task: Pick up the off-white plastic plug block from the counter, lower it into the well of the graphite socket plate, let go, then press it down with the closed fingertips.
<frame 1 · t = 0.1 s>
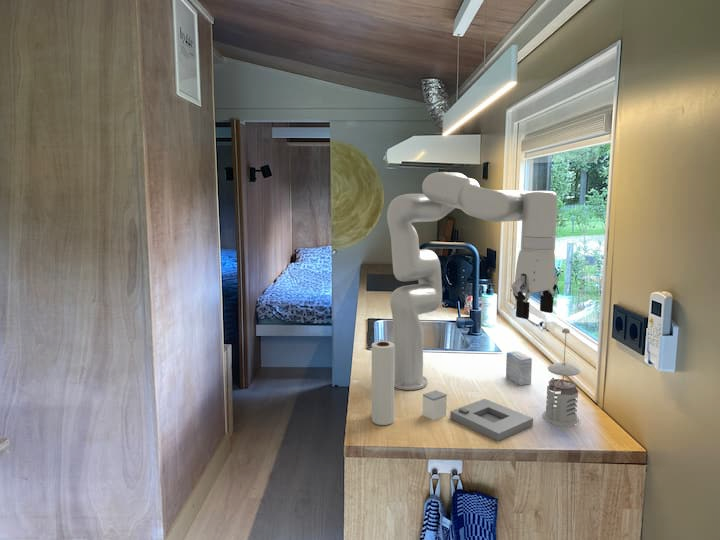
hand: (534, 314, 121), 31 cm above the counter, tool pointing down, fingers open, 9 cm apart
plug: (434, 415, 138), on the counter
socket plate: (490, 421, 134), on the counter
medicine box: (518, 381, 164), on the counter
paper towel roll: (383, 420, 135), on the counter
french press: (559, 419, 136), on the counter
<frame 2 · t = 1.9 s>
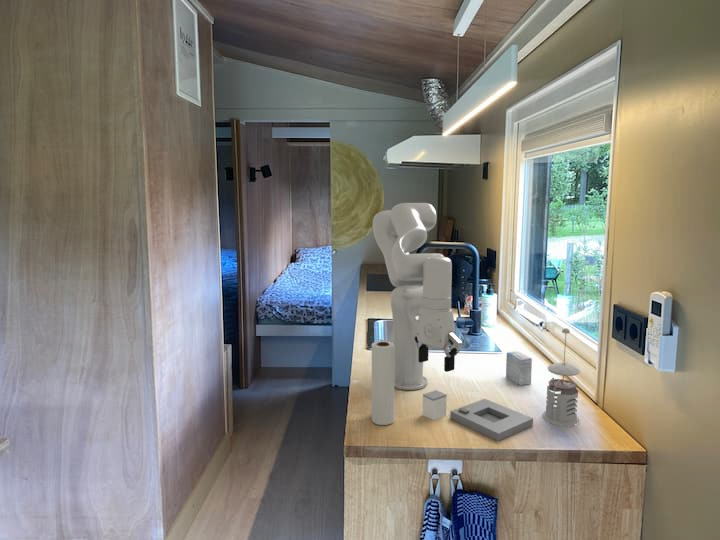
hand: (436, 365, 136), 14 cm above the counter, tool pointing down, fingers open, 9 cm apart
nothing on the counter moved.
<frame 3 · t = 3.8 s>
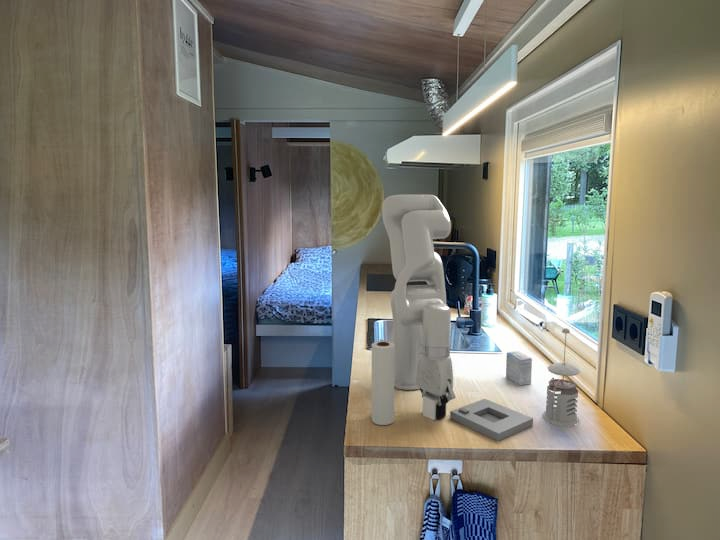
hand: (434, 414, 138), 0 cm above the counter, tool pointing down, fingers closed on plug, 4 cm apart
plug: (434, 415, 138), on the counter, touching gripper
everything else where it was.
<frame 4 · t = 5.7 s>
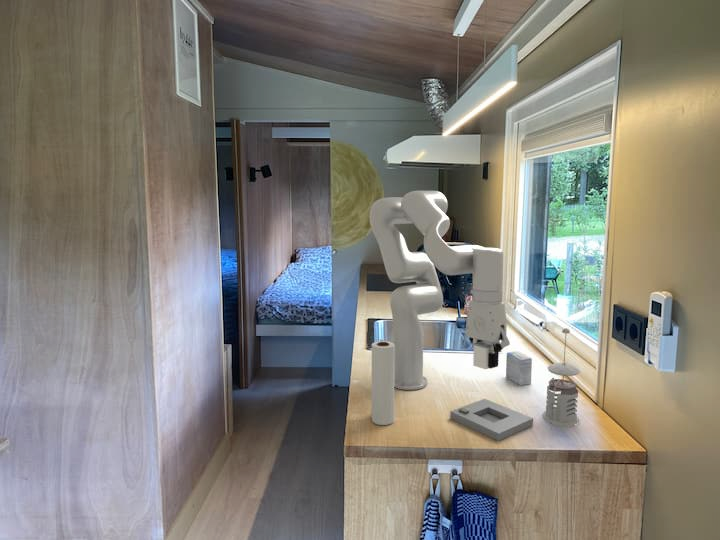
hand: (486, 364, 132), 16 cm above the counter, tool pointing down, fingers closed on plug, 4 cm apart
plug: (485, 365, 132), point 16 cm above the counter, touching gripper
everything else where it was.
when the fingers open (2 cm above the counter, at t = 7.9 s): plug drops 1 cm, resting on socket plate.
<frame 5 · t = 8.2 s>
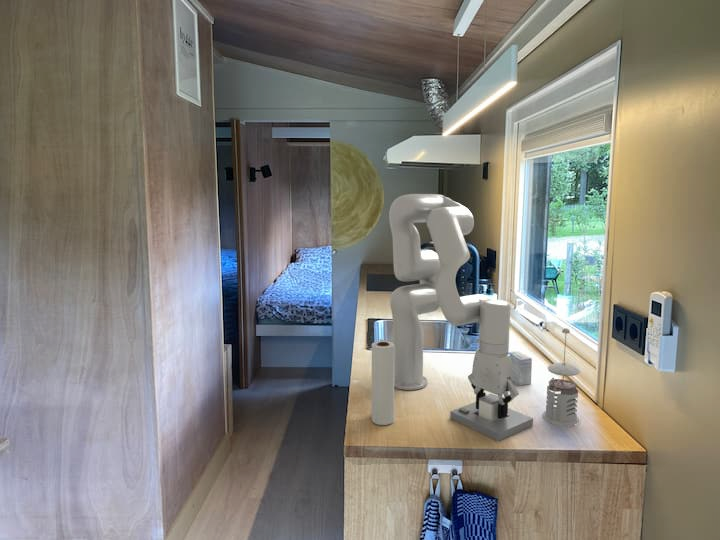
hand: (491, 412, 134), 3 cm above the counter, tool pointing down, fingers open, 6 cm apart
plug: (490, 419, 134), point 1 cm above the counter, touching socket plate
everything else where it was.
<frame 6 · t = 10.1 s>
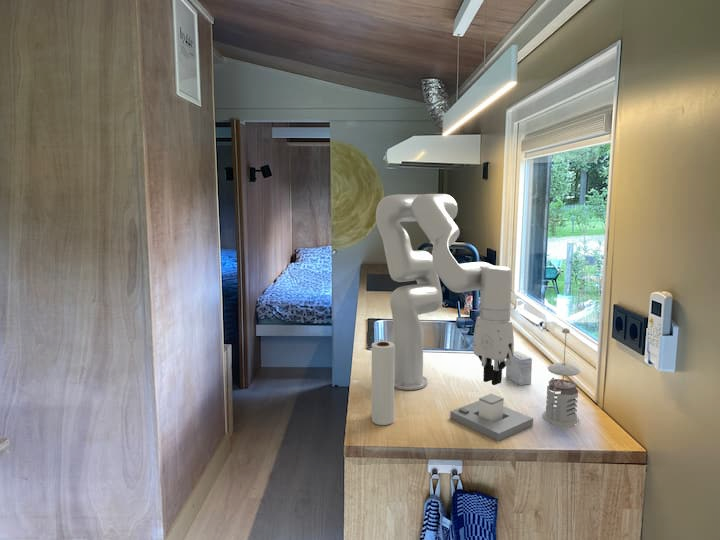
hand: (492, 381, 132), 11 cm above the counter, tool pointing down, fingers closed
nothing on the counter moved.
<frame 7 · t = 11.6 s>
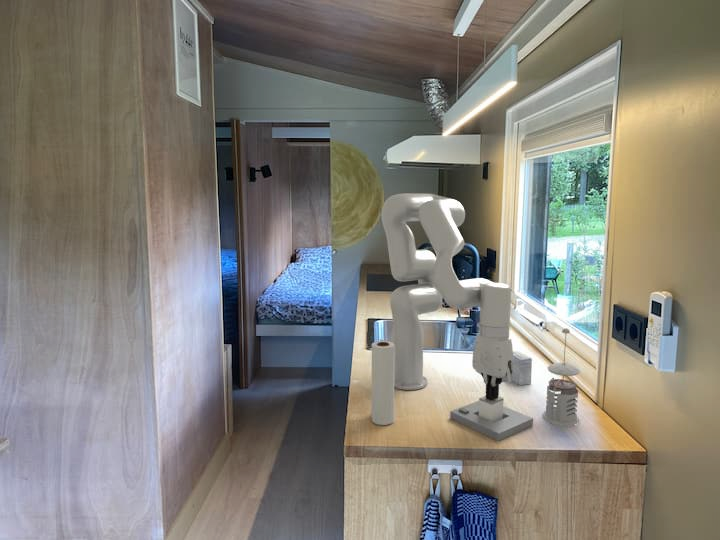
hand: (491, 398, 133), 7 cm above the counter, tool pointing down, fingers closed
plug: (490, 419, 134), point 1 cm above the counter, touching gripper, socket plate
everything else where it was.
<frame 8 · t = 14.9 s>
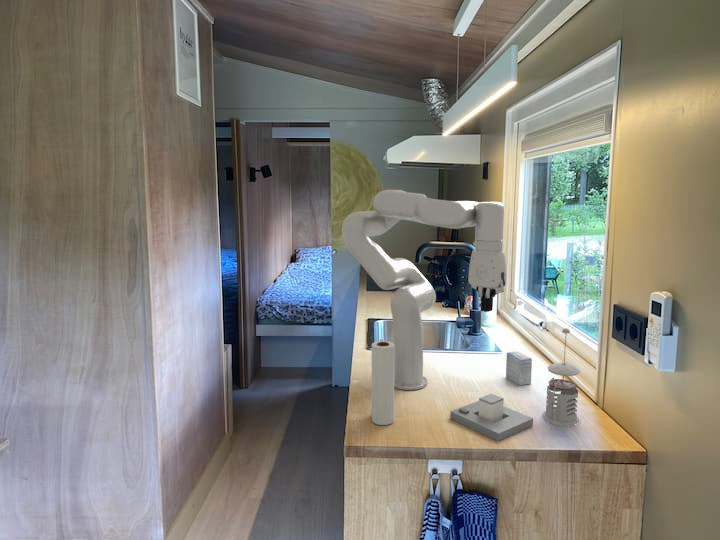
hand: (486, 310, 143), 27 cm above the counter, tool pointing down, fingers closed
plug: (490, 419, 134), point 1 cm above the counter, touching socket plate
everything else where it was.
at the end: plug 0.1 cm off-centre on the socket plate, point 0.6 cm above the socket plate's base; plug tilted 0°; the gripper is holding nothing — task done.
